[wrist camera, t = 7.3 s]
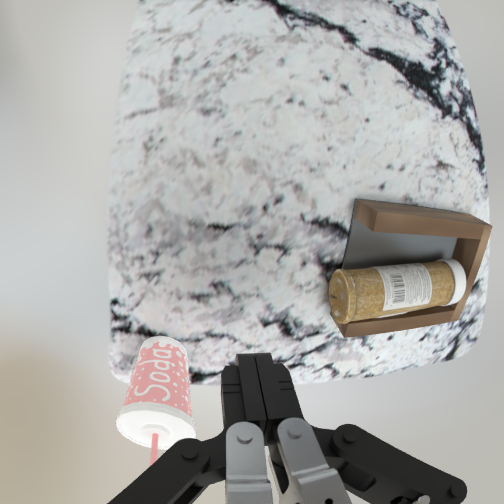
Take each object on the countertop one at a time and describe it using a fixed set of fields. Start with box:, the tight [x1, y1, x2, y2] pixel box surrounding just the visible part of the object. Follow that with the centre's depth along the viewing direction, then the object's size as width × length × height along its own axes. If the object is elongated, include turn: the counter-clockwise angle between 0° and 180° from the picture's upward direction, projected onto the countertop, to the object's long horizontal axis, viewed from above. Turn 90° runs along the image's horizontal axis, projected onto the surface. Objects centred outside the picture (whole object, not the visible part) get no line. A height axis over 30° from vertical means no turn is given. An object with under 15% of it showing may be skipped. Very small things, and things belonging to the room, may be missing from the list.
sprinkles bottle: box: [329, 259, 466, 324], centre depth 24 cm, size 5×5×14 cm
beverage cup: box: [116, 336, 196, 466], centre depth 20 cm, size 6×6×14 cm
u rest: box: [331, 199, 492, 338], centre depth 24 cm, size 11×15×4 cm
